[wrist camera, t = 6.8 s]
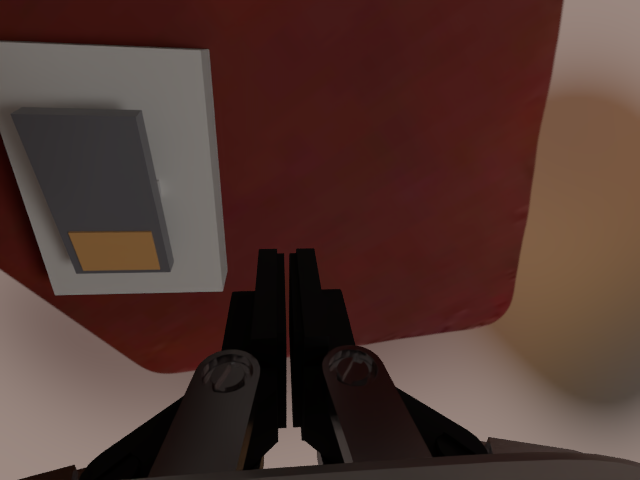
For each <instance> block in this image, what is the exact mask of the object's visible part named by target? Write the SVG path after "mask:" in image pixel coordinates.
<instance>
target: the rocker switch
mask: <svg viewBox="0 0 640 480" xmlns="http://www.w3.org/2000/svg"><path fill="white" fill-rule="evenodd" d="M10 115H11V117H12V120H13V122H14V124H15V127H16V129H17V132H18V134H19V136H20V139H21V141H22V144H23V146H24V149H25V151H26V153H27V156H28V158H29V161H30V163H31V166H32V168H33V170H34V173H35V175H36V178H37V180H38V182H39V185H40V187H41V190H42V192H43V195H44V197H45V199H46V202H47V204H48V207H49V209H50V211H51V214H52V216H53V219H54V221H55V224H56V226H57V228H58V231H59V233H60V236H61V238H62V240H63V243H64V245H65V248H66V250H67V253H68V255H69V257H70V260H71V262H72V265H73V267H74V269H75V272H76V274H96V273H153V272H171V269H172V267H173V264H174V259H173V254H172V249H171V245H170V240H169V235H168V231H167V226H166V221H165V217H164V212H163V207H162V203H161V198H160V193H159V189H158V184H157V179H156V175H155V170H154V165H153V161H152V156H151V151H150V147H149V142H148V137H147V133H146V128H145V123H144V119H143V114H142V110H119V109H79V108H39V107H21V108H20V109H18V110H16V111H14V112H13V113H11V114H10Z"/></svg>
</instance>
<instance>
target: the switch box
mask: <svg viewBox="0 0 640 480" xmlns="http://www.w3.org/2000/svg"><path fill="white" fill-rule="evenodd" d="M21 107H39V108H79V109H119V110H142V114H143V119H144V123H145V128H146V133H147V137H148V142H149V147H150V151H151V156H152V161H153V165H154V170H155V175H156V179H157V184H158V189H159V193H160V198H161V203H162V207H163V212H164V217H165V221H166V226H167V231H168V235H169V240H170V245H171V249H172V254H173V259H174V264H173V267H172V269H171V272H153V273H96V274H76V272H75V269H74V267H73V265H72V262H71V260H70V257H69V255H68V253H67V250H66V248H65V245H64V243H63V240H62V238H61V236H60V233H59V231H58V228H57V226H56V224H55V221H54V219H53V216H52V214H51V211H50V209H49V207H48V204H47V202H46V199H45V197H44V195H43V192H42V190H41V187H40V185H39V182H38V180H37V178H36V175H35V173H34V170H33V168H32V166H31V163H30V161H29V158H28V156H27V153H26V151H25V149H24V146H23V144H22V141H21V139H20V136H19V134H18V132H17V129H16V127H15V124H14V122H13V120H12V117H11V115H10V114H11V113H13V112H14V111H16V110H18V109H20V108H21ZM0 133H1V136H2V139H3V142H4V145H5V148H6V151H7V154H8V157H9V160H10V163H11V166H12V169H13V172H14V174H15V177H16V180H17V183H18V186H19V189H20V192H21V195H22V198H23V201H24V204H25V207H26V210H27V213H28V216H29V219H30V222H31V225H32V228H33V231H34V234H35V237H36V240H37V243H38V246H39V249H40V252H41V255H42V258H43V261H44V264H45V267H46V270H47V273H48V276H49V279H50V281H51V284H52V287H53V290H54V293H55V295H81V294H125V293H169V292H213V291H223V288H224V284H225V279H226V275H227V260H226V248H225V236H224V223H223V211H222V199H221V187H220V175H219V163H218V151H217V139H216V127H215V115H214V103H213V91H212V79H211V67H210V55H209V49H193V48H169V47H145V46H121V45H97V44H73V43H50V42H26V41H0Z"/></svg>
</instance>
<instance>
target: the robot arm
mask: <svg viewBox="0 0 640 480" xmlns="http://www.w3.org/2000/svg"><path fill="white" fill-rule="evenodd" d="M289 337H290V362H291V387H292V412H293V413H292V414H293V427H301V436H302V440H303V441H306V442H307V443H308V444H309V445H311V446H312V447H313V448H314V449H316V450H317V458H318V465H313V466H300V467H299V466H298V467H285V468H271V469H263V466H264V455H265V454H266V453H267V452H268V451H269V450H270V449H271V448H272V447H273V446H274V445H275V444H276V443H277V442H278V428H286V308H285V273H284V253H283V254H277V249H259V255H258V266H257V277H256V288H255V291H240V292H232V296H231V301H230V307H229V312H228V318H227V324H226V329H225V335H224V340H223V346H222V351H220V352H216V353H214V354H212V355H210V356H208V357H207V358H206V359H205V360H203V361H202V362H201V363H200V364H199V366H198V367H197V369H196V371H195V373H194V375H193V377H192V380H191V382H190V384H189V386H188V388H187V391H186V393H185V395H184V396H183V397H181V398H180V399H179V400H177V401H176V402H174V403H173V404H172V405H170V406H169V407H167V408H166V409H164V410H163V411H161V412H160V413H158V414H157V415H156V416H154V417H153V418H151V419H150V420H148V421H147V422H146V423H144V424H143V425H141V426H140V427H138V428H137V429H135V430H134V431H133V432H131V433H130V434H129V435H127V436H125V437H124V438H123V439H121V440H120V441H118V442H117V443H115V444H114V445H113V446H111V447H110V448H108V449H107V450H105V451H104V452H103V453H101V454H100V455H99V456H98V457H96V458H95V459H94V460H93V461H92V462H91V463H90V464H89V465H88V466H87V467H86V468H83V469H79V470H76V467H75V465H72V466H68V467H64V468H60V469H57V470H53V471H49V472H46V473H42V474H38V475H34V476H30V477H27V478H23V479H19V480H640V463H637V462H634V461H630V460H626V459H621V458H615V457H609V456H604V455H597V454H586V453H581V452H578V451H574V450H569V449H563V448H556V447H550V446H543V445H537V444H530V443H524V442H517V441H510V440H504V439H497V438H491V437H488V440H487V442H483V441H480V440H479V439H478V438H477V437H476V436H474V435H473V434H472V433H471V432H469V431H468V430H466V429H465V428H463V427H461V426H460V425H458V424H456V423H455V422H453V421H451V420H450V419H448V418H446V417H445V416H443V415H441V414H440V413H438V412H437V411H435V410H433V409H431V408H430V407H428V406H426V405H425V404H423V403H421V402H420V401H418V400H417V399H415V398H413V397H412V396H410V395H408V394H407V393H405V392H403V391H402V390H400V389H398V388H397V387H395V385H394V383H393V381H392V380H391V378H390V376H389V374H388V372H387V370H386V368H385V366H384V364H383V362H382V361H381V360H380V358H379V357H378V356H377V355H376V354H375V353H373V352H372V351H371V350H368V349H366V348H364V347H361V346H356V345H355V342H354V338H353V334H352V330H351V326H350V322H349V319H348V315H347V311H346V307H345V303H344V299H343V295H342V292H341V290H340V289H327V290H321V285H320V279H319V274H318V268H317V262H316V256H315V251H314V249H296V253H290V255H289Z"/></svg>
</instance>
